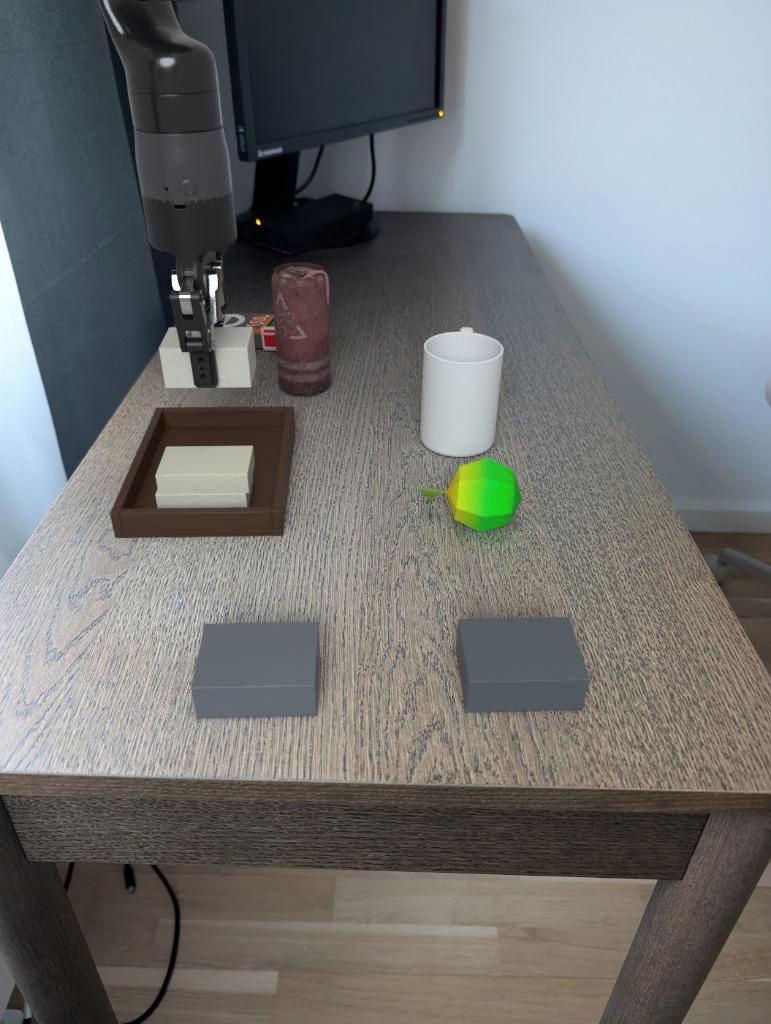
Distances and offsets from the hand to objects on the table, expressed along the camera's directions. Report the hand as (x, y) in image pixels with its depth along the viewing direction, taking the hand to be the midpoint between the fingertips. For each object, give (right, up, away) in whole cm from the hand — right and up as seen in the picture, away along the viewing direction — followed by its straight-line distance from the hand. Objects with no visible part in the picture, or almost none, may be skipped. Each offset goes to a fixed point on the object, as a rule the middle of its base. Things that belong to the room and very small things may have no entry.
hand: (211, 372), depth 74 cm
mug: (+25, -5, +10) cm, 27 cm away
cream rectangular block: (0, 0, 0) cm, 0 cm away
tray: (0, -10, +1) cm, 10 cm away
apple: (+24, -14, -4) cm, 29 cm away
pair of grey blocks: (+17, -25, -20) cm, 36 cm away
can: (+7, +2, +18) cm, 20 cm away
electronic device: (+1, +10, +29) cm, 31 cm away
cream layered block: (0, -12, -3) cm, 12 cm away
